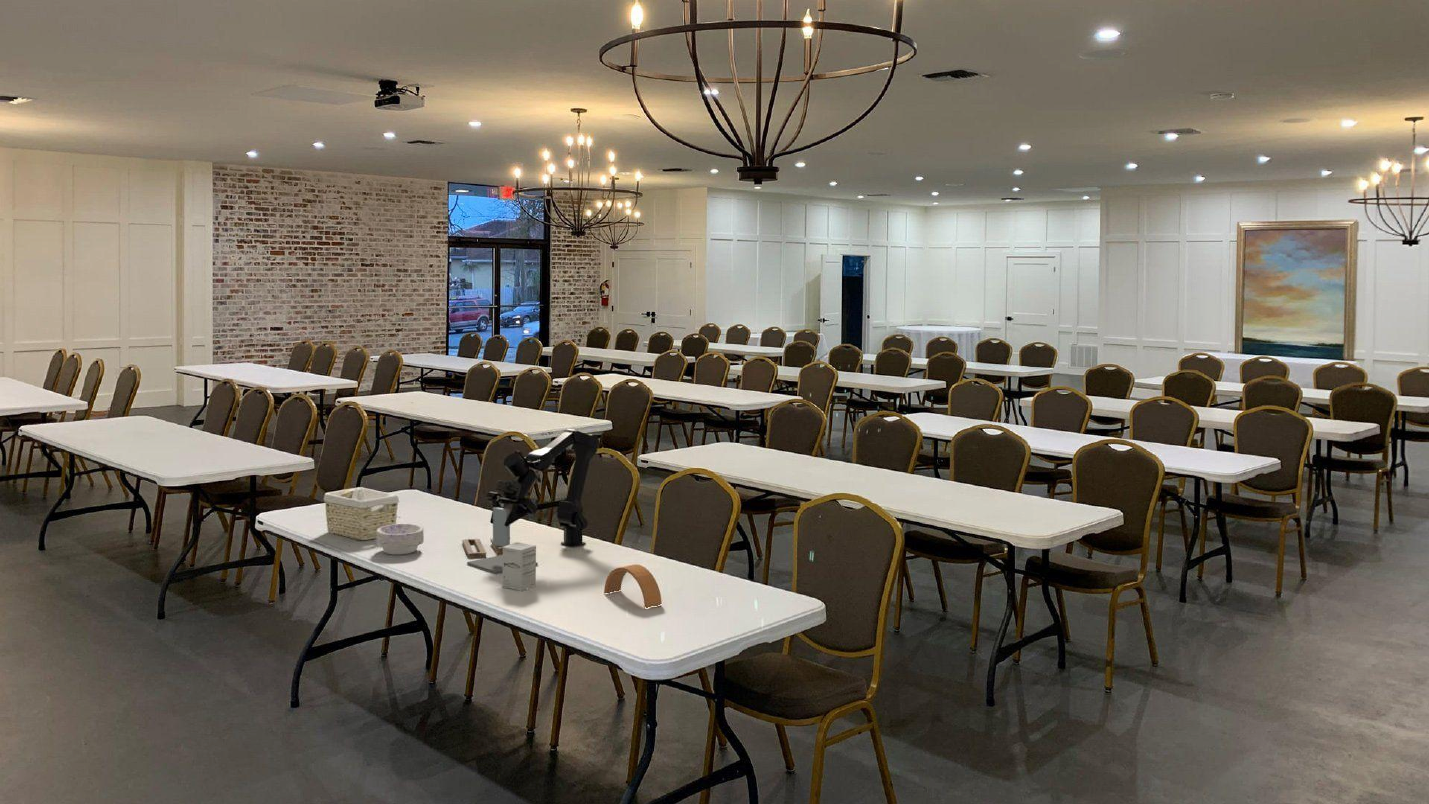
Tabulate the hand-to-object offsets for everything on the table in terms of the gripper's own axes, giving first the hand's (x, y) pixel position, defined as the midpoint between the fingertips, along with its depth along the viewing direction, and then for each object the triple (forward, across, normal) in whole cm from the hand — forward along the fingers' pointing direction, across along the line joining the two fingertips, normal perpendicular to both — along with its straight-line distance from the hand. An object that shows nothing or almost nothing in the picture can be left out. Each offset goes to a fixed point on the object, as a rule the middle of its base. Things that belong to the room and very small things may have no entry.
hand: (498, 524), depth 347 cm
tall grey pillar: (+4, 0, +6) cm, 7 cm away
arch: (+12, +57, +8) cm, 59 cm away
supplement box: (+19, +22, 0) cm, 30 cm away
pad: (+9, 0, +10) cm, 14 cm away
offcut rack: (+1, -18, +18) cm, 26 cm away
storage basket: (+9, -70, +10) cm, 71 cm away
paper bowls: (+15, -38, +4) cm, 41 cm away
